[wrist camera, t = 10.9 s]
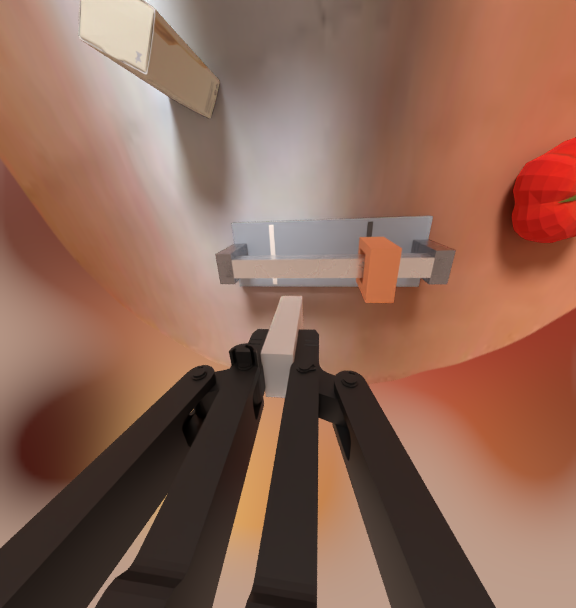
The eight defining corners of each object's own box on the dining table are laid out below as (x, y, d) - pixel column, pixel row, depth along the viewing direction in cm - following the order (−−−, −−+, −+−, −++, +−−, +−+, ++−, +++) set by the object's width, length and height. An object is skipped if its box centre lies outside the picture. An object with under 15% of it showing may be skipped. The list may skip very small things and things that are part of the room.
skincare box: (221, 80, 29) (160, 8, 18) (211, 120, 30) (150, 78, 19) (172, 53, 28) (77, -40, 17) (165, 95, 30) (75, 37, 19)
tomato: (497, 245, 33) (536, 256, 27) (501, 158, 28) (548, 148, 23) (583, 224, 30) (647, 231, 24) (601, 127, 26) (682, 107, 20)
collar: (355, 280, 33) (365, 302, 26) (359, 237, 30) (371, 249, 24) (377, 280, 32) (393, 302, 26) (383, 236, 30) (402, 248, 23)
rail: (237, 268, 37) (219, 284, 31) (234, 243, 36) (214, 254, 29) (422, 267, 34) (447, 284, 27) (428, 239, 32) (456, 250, 26)
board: (241, 284, 40) (239, 286, 39) (233, 222, 35) (231, 223, 34) (416, 284, 36) (418, 287, 35) (429, 215, 32) (433, 216, 31)
